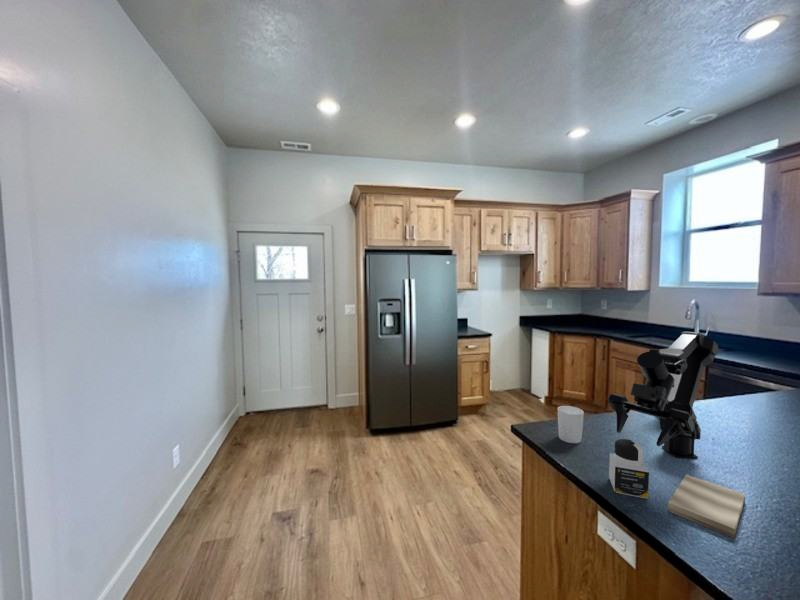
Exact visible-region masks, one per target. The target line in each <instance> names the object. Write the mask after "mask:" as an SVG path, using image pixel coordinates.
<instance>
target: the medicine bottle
mask: <svg viewBox="0 0 800 600" xmlns="http://www.w3.org/2000/svg"><path fill="white" fill-rule="evenodd" d="M608 466H609V469H608V470H609V471H608V472H609V473H608V478H609V481H610V483H611V486H612V489H613V492H614V493H615V492H616V494H621V495H624V496H625V495H626V496H632V497H637V498H642V499H645V500H647V499H649V484H650V483H649V482H650V478H649V477H650V471H649V469H648V467H647V466H646V463H645V462H644V447H643V446H642V444H640V443H639V442H637V441H635V440H631V439H626V438H620V439H616V440H615V441H614V452H610V453H609V465H608Z"/></svg>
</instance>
